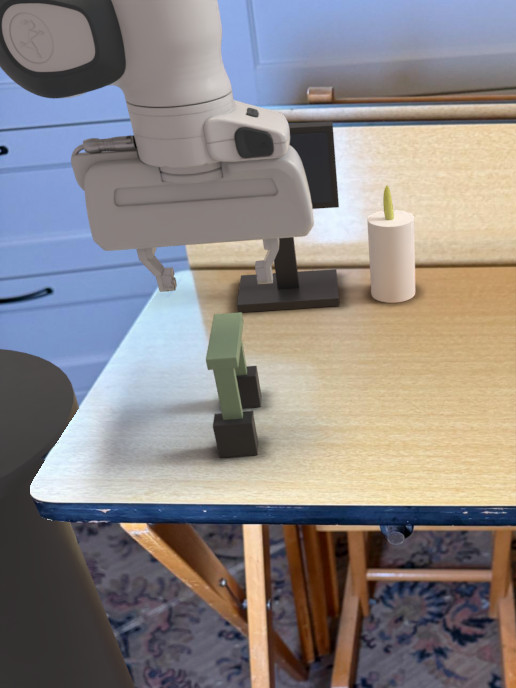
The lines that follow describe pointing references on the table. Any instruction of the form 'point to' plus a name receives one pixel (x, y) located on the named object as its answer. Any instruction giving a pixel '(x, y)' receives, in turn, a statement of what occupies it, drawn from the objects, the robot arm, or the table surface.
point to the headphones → (233, 387)
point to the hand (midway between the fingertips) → (217, 285)
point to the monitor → (287, 282)
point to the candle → (391, 253)
